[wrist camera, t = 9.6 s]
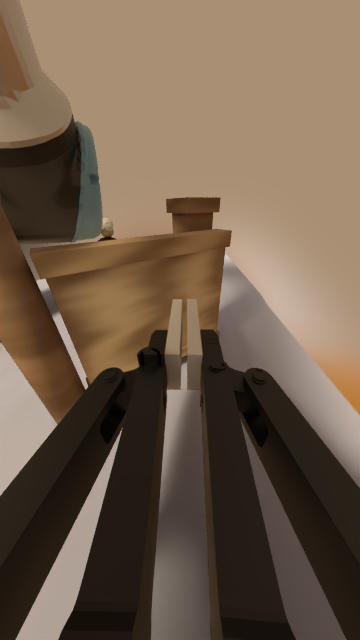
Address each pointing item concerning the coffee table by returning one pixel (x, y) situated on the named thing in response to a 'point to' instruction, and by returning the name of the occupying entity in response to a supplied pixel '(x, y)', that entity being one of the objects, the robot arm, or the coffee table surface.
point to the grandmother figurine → (107, 230)
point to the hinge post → (33, 330)
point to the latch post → (192, 213)
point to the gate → (131, 291)
